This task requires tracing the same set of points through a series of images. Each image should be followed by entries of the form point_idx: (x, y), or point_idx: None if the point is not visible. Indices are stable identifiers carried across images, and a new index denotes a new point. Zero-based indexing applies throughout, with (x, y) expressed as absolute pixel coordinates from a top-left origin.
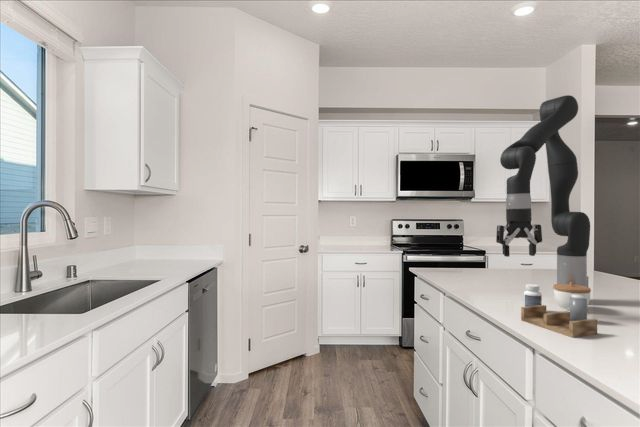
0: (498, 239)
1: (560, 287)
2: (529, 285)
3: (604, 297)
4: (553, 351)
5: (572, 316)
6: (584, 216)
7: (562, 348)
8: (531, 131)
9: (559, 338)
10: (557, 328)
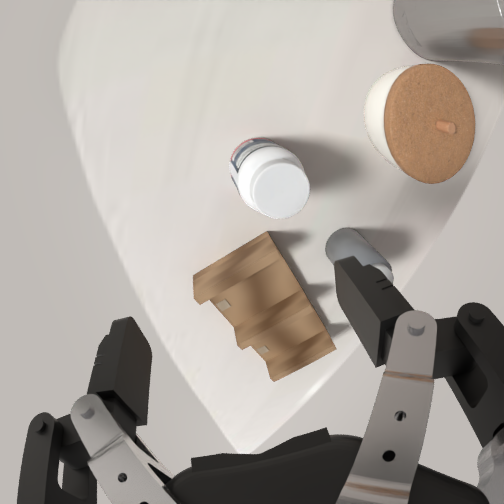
0: (44, 449)
1: (399, 145)
2: (266, 200)
3: None
4: (210, 411)
5: (331, 261)
6: None
7: (227, 401)
8: None
9: (240, 369)
10: (253, 345)
